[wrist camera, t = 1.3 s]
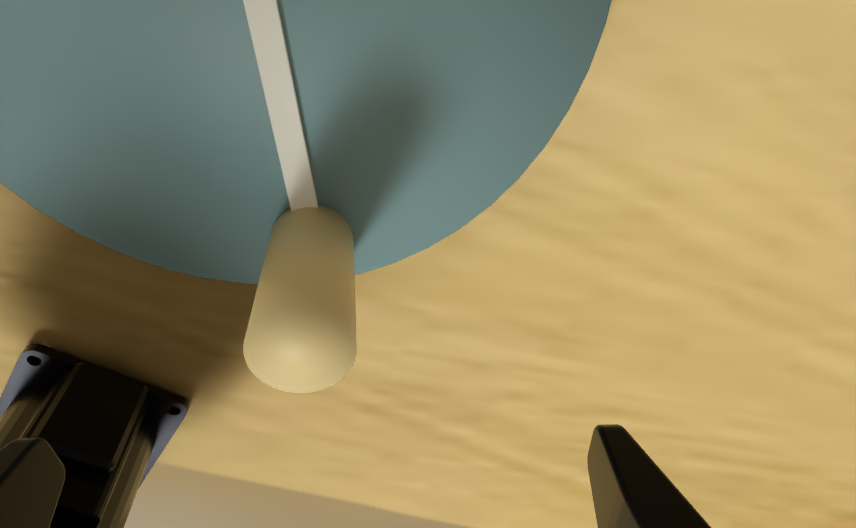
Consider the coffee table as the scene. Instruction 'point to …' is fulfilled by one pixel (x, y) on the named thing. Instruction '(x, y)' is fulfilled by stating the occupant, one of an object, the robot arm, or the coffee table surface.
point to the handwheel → (282, 138)
